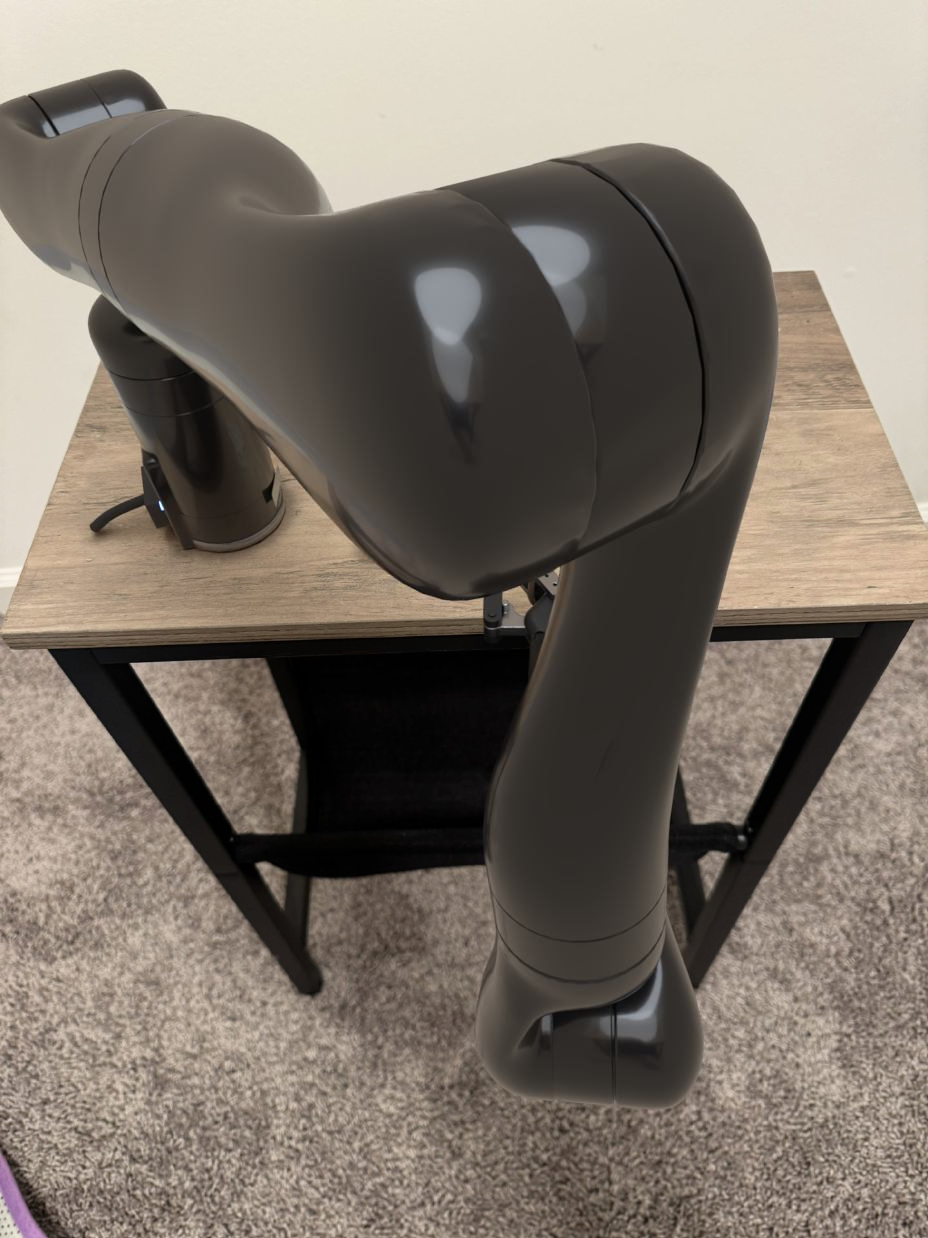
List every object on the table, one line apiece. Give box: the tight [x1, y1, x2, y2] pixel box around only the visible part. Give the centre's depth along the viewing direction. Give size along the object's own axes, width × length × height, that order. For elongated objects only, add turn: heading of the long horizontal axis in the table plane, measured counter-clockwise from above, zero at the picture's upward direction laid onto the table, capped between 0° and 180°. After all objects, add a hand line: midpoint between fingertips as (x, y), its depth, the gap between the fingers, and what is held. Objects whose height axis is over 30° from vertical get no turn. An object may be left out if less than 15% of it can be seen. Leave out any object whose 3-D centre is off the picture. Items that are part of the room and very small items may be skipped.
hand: (590, 519), depth 59 cm, fingers open, 8 cm apart
